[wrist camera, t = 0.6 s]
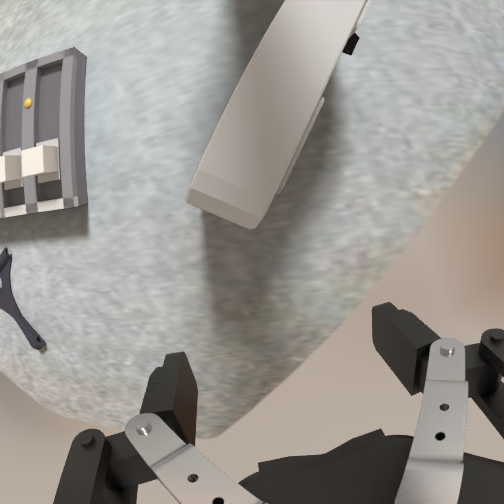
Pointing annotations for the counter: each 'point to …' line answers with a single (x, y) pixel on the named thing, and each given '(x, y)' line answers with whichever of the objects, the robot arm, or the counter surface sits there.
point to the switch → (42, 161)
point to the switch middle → (11, 169)
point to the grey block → (274, 109)
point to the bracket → (6, 301)
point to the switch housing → (45, 129)
